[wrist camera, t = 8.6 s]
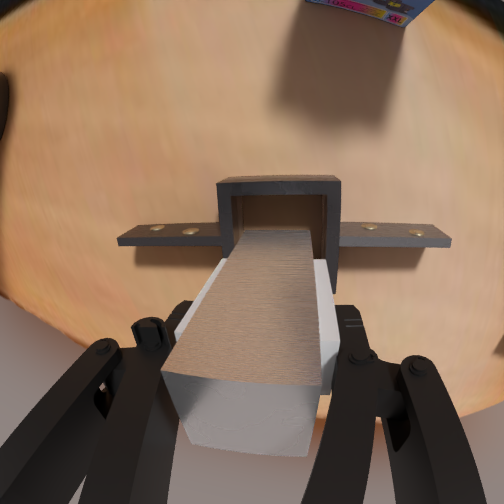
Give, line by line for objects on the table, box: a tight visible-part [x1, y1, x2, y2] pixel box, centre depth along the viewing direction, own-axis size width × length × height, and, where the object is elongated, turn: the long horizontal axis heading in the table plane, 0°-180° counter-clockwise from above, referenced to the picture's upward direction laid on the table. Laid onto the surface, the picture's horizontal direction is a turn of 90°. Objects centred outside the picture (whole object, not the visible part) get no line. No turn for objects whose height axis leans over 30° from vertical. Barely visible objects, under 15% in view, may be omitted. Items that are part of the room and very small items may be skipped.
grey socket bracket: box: [117, 175, 452, 294], centre depth 23 cm, size 9×29×4 cm, turn 93°
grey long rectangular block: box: [161, 230, 322, 457], centre depth 12 cm, size 4×4×12 cm
